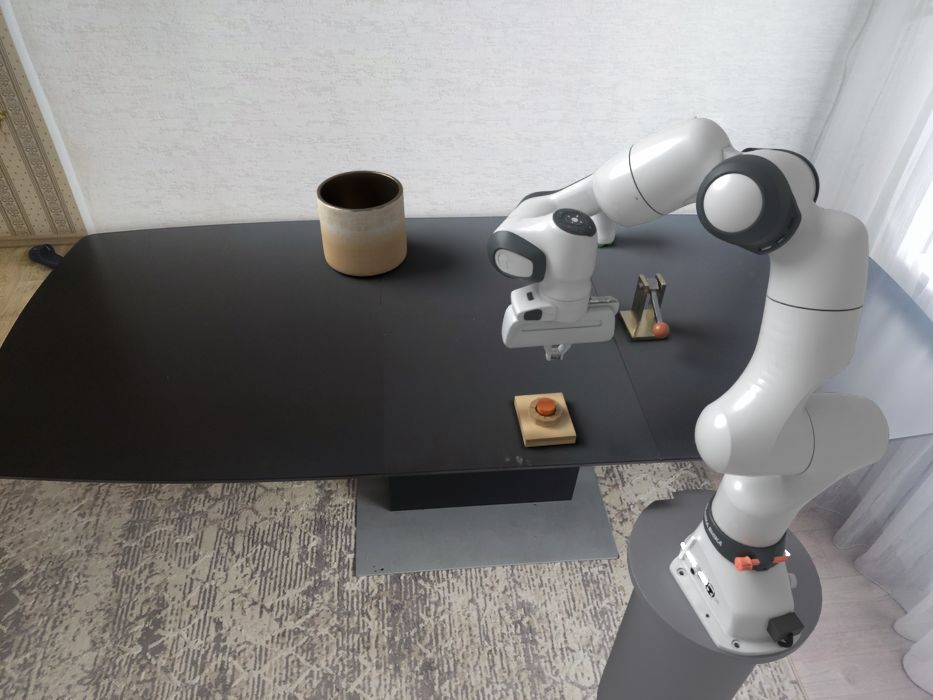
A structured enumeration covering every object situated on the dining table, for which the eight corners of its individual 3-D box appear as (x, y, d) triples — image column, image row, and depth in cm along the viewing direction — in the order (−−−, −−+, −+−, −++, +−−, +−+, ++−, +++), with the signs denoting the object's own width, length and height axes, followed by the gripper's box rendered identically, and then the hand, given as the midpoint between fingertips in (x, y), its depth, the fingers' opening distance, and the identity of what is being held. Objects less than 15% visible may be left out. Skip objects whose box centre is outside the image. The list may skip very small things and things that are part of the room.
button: (556, 416, 130) (557, 410, 129) (538, 417, 130) (539, 411, 129) (552, 403, 133) (553, 397, 132) (534, 404, 133) (535, 398, 131)
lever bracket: (664, 338, 155) (677, 291, 146) (631, 341, 154) (643, 293, 145) (650, 312, 162) (662, 266, 153) (618, 314, 161) (628, 268, 152)
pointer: (667, 340, 147) (673, 333, 144) (652, 341, 147) (657, 335, 144) (654, 283, 152) (660, 276, 149) (639, 284, 152) (644, 277, 149)
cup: (573, 234, 189) (579, 189, 180) (606, 227, 193) (615, 182, 183) (592, 254, 182) (600, 208, 172) (627, 246, 185) (636, 201, 175)
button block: (574, 442, 130) (577, 429, 127) (525, 447, 129) (526, 433, 126) (560, 399, 139) (563, 386, 136) (514, 403, 138) (515, 389, 135)
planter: (324, 283, 169) (314, 213, 156) (325, 238, 185) (316, 171, 172) (410, 276, 172) (407, 208, 159) (403, 233, 188) (400, 167, 175)
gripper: (615, 284, 117) (603, 342, 126) (502, 291, 115) (498, 350, 124) (626, 306, 112) (612, 365, 122) (508, 314, 110) (503, 373, 119)
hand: (554, 357), depth 123 cm, fingers closed
